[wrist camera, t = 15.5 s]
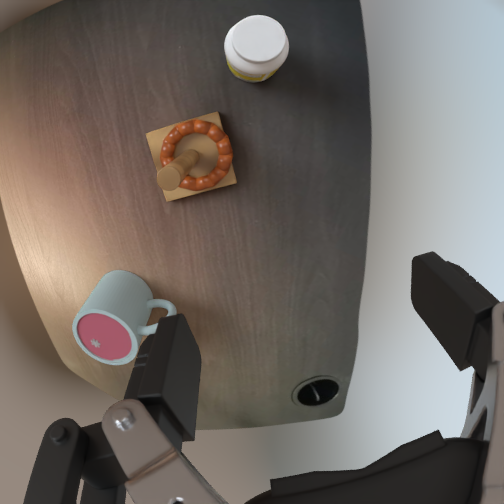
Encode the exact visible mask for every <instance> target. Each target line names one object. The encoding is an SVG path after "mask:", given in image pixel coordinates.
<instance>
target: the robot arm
mask: <svg viewBox="0 0 504 504" xmlns="http://www.w3.org/2000/svg"><path fill="white" fill-rule="evenodd" d="M411 300H412V304H413V307H414V309H415V310H416V312H417V313H418V314H419V316H420V317H421V318H422V319H423V321H424V322H425V324H426V325H427V326H428V328H429V329H430V330H431V331H432V333H433V334H434V336H435V337H436V338H437V340H438V341H439V342H440V344H441V345H442V346H443V348H444V349H445V350H446V352H447V353H448V355H449V356H450V357H451V359H452V360H453V362H454V363H455V365H456V366H457V367H458V369H459V370H460V371H462V370H464V369H466V368H468V367H470V366H472V367H473V368H474V369H475V371H474V373H473V377H472V384H471V392H470V399H469V406H468V411H467V416H466V421H465V425H464V428H463V431H462V433H461V436H460V437H459V438H457V437H456V438H455V437H454V438H445V439H443V437H442V436H441V433H440V432H439V430H437V431H434V432H432V433H430V434H428V435H425V436H423V437H420V438H418V439H416V440H413V441H411V442H408V443H406V444H403V445H401V446H400V447H398V448H396V449H395V450H393V451H392V452H390V453H388V454H387V455H385V456H384V457H382V458H380V459H379V460H377V461H375V462H374V463H372V464H370V465H368V466H367V467H365V468H362V469H357V470H343V471H313V472H309V473H304V474H299V475H294V476H289V477H283V478H277V479H270V483H271V490H268V491H266V492H263V493H261V494H259V495H257V496H255V497H254V498H252V499H250V500H249V501H247V502H246V503H245V504H504V302H499V301H498V300H497V299H496V298H495V297H494V296H493V295H492V294H491V293H490V292H489V291H488V290H487V289H485V288H484V287H483V286H482V285H481V284H480V283H479V282H476V280H475V279H474V278H473V277H472V276H469V274H468V273H467V272H466V271H465V270H464V269H463V268H461V267H460V266H458V265H456V264H454V263H451V262H449V261H444V260H443V259H442V258H441V257H440V256H439V255H437V254H436V253H435V252H429V253H425V254H422V255H418V256H415V257H414V258H413V260H412V278H411ZM137 357H138V358H136V361H135V364H134V366H135V367H134V368H133V371H132V374H131V377H130V380H129V383H128V386H127V390H126V393H125V396H124V399H123V400H121V401H118V402H117V403H115V404H113V405H112V406H111V407H110V408H109V409H108V410H107V411H106V412H105V414H104V416H103V419H102V422H99V423H95V424H92V425H89V426H85V427H82V428H81V427H80V426H79V425H78V424H77V423H76V422H75V421H74V420H73V419H70V418H62V419H59V420H57V421H55V422H54V423H52V424H51V425H50V426H49V427H48V429H47V430H46V432H45V434H44V437H43V440H42V443H41V446H40V449H39V452H38V455H37V458H36V461H35V464H34V467H33V471H32V474H31V477H30V481H29V484H28V488H27V491H26V495H25V499H24V503H23V504H76V500H77V494H78V489H79V484H80V479H81V478H82V479H83V480H84V485H83V490H82V496H81V501H80V504H125V498H126V489H127V491H128V493H129V495H130V496H131V498H132V500H133V502H134V503H135V504H228V502H227V501H225V500H224V499H223V498H222V497H221V496H220V495H219V494H218V493H217V492H216V491H215V489H214V488H213V487H212V486H211V485H210V484H209V483H208V482H207V481H206V480H205V478H204V477H203V476H202V475H201V474H200V473H199V472H198V471H197V469H196V468H195V467H194V466H193V465H192V464H191V462H190V461H189V460H188V459H187V458H186V456H185V455H184V454H183V453H182V452H181V449H182V442H184V441H194V440H195V428H196V416H197V404H198V393H199V383H200V373H201V355H200V351H199V348H198V345H197V343H196V341H195V339H194V336H193V334H192V332H191V330H190V328H189V325H188V323H187V321H186V319H185V317H184V315H183V314H176V315H171V316H166V317H161V318H160V319H159V322H158V325H157V328H156V332H155V333H154V334H149V336H148V337H147V338H146V339H145V341H144V342H143V343H142V344H141V346H140V349H139V352H138V355H137Z"/></svg>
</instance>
